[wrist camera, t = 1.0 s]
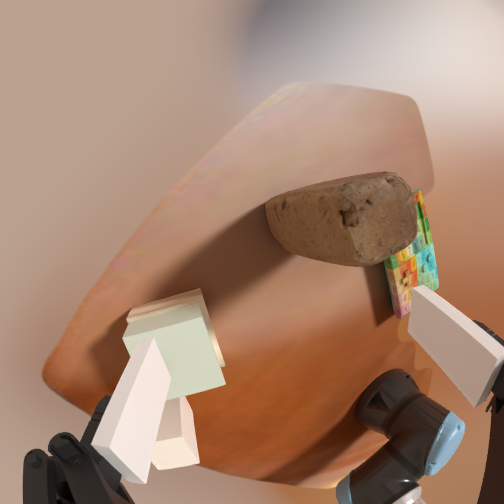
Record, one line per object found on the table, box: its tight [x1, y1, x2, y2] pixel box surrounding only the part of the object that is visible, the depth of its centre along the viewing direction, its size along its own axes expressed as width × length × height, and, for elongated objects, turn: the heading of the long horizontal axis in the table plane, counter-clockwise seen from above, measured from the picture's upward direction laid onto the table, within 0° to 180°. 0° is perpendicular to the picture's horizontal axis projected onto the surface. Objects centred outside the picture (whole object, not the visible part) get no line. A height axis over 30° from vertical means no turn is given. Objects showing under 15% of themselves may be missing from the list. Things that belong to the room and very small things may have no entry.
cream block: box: [151, 396, 200, 470], centre depth 31 cm, size 6×6×12 cm
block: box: [265, 172, 418, 267], centre depth 29 cm, size 11×8×20 cm
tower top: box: [122, 303, 226, 400], centre depth 29 cm, size 9×9×5 cm
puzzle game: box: [383, 189, 439, 319], centre depth 43 cm, size 12×5×20 cm
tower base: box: [126, 288, 225, 367], centre depth 34 cm, size 10×10×5 cm
